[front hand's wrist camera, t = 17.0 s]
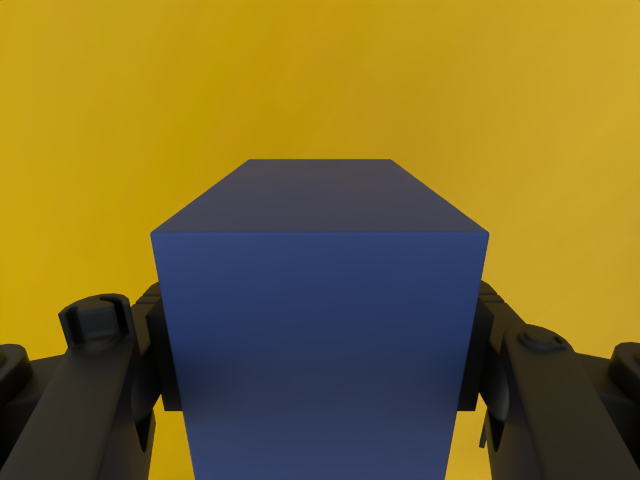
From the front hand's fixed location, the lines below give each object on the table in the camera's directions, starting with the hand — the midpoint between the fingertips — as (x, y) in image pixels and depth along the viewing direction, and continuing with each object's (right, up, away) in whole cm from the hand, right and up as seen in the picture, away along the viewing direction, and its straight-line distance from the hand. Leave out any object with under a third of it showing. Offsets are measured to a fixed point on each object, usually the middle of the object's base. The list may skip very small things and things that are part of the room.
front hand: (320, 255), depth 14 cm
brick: (0, +1, +2) cm, 2 cm away
